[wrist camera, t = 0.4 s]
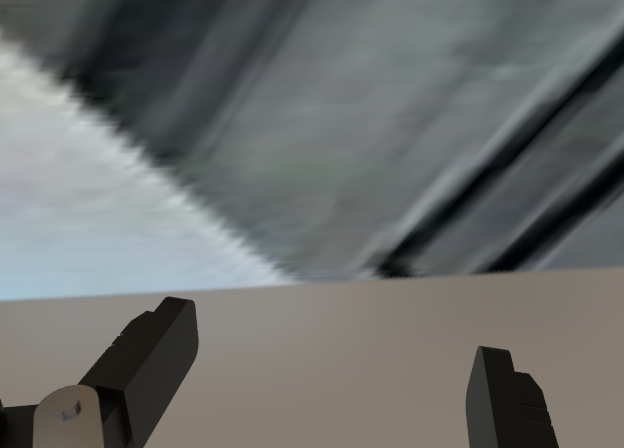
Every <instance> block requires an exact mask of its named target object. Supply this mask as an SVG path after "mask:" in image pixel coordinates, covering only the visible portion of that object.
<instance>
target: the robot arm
mask: <svg viewBox="0 0 624 448" xmlns="http://www.w3.org/2000/svg"><path fill="white" fill-rule="evenodd" d="M198 343H199V341H198V330H197V319H196V310H195V303H194V301H192V300H188V299H181V298H175V297H166V298H165V299H164V300H163V301H162V303H161V304H160V305H159V306H158V307H157V309H156V310H155V311H154V312H150V311H146V312H144V313H143V314H141V315H140V316H138V317H136V318H135V319H133V320H132V321H131V322H130V323H129V324H128V325H127V326H126V327H125V329H124V330H123V331H122V332H121V333H120V336H118V337H117V338H116V339H115V341H114V342H113V343H112V345H111V347H109V348H108V349H107V350H106V351H105V353H103V355H102V356H101V357H100V358H99V359H98V361H97V362H96V363H95V364H94V366H93V367H92V368H91V369H90V370H89V371H88V372H87V374H86V375H85V376H84V377H83V378H82V380H81V381H80V382H79V383H78V384H77V385H71V386H67V387H63V388H60V389H58V390H56V391H54V392H53V393H51V394H49V395H48V396H47V397H45V398H44V399H43V400H42V401H41V402H40V404H38V405H28V406H16V407H3V405H2V402H1V400H0V448H143V447H144V446H145V444H146V442H147V440H148V439H149V437H150V435H151V434H152V432H153V430H154V429H155V427H156V425H157V424H158V422H159V420H160V418H161V417H162V415H163V413H164V412H165V410H166V408H167V406H168V405H169V403H170V402H171V400H172V398H173V396H174V395H175V393H176V391H177V390H178V388H179V386H180V384H181V383H182V381H183V379H184V378H185V376H186V374H187V373H188V371H189V369H190V368H191V366H192V364H193V362H194V360H195V358H196V355H197V351H198ZM466 417H467V427H468V436H469V446H470V448H559V447H558V443H557V439H556V436H555V433H554V429H553V426H551V419H550V416H549V412H548V411H547V406H546V403H545V399H544V395H543V392H542V390H541V388H540V387H539V386H538V385H537V383H536V382H535V381H534V380H533V378H532V377H531V376H530V375H529V374H527V373H521V372H515V371H514V367H513V363H512V358H511V354H510V352H509V351H508V350H503V349H497V348H490V347H484V346H479V347H478V349H477V352H476V356H475V360H474V364H473V368H472V372H471V376H470V380H469V384H468V388H467V395H466Z"/></svg>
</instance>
